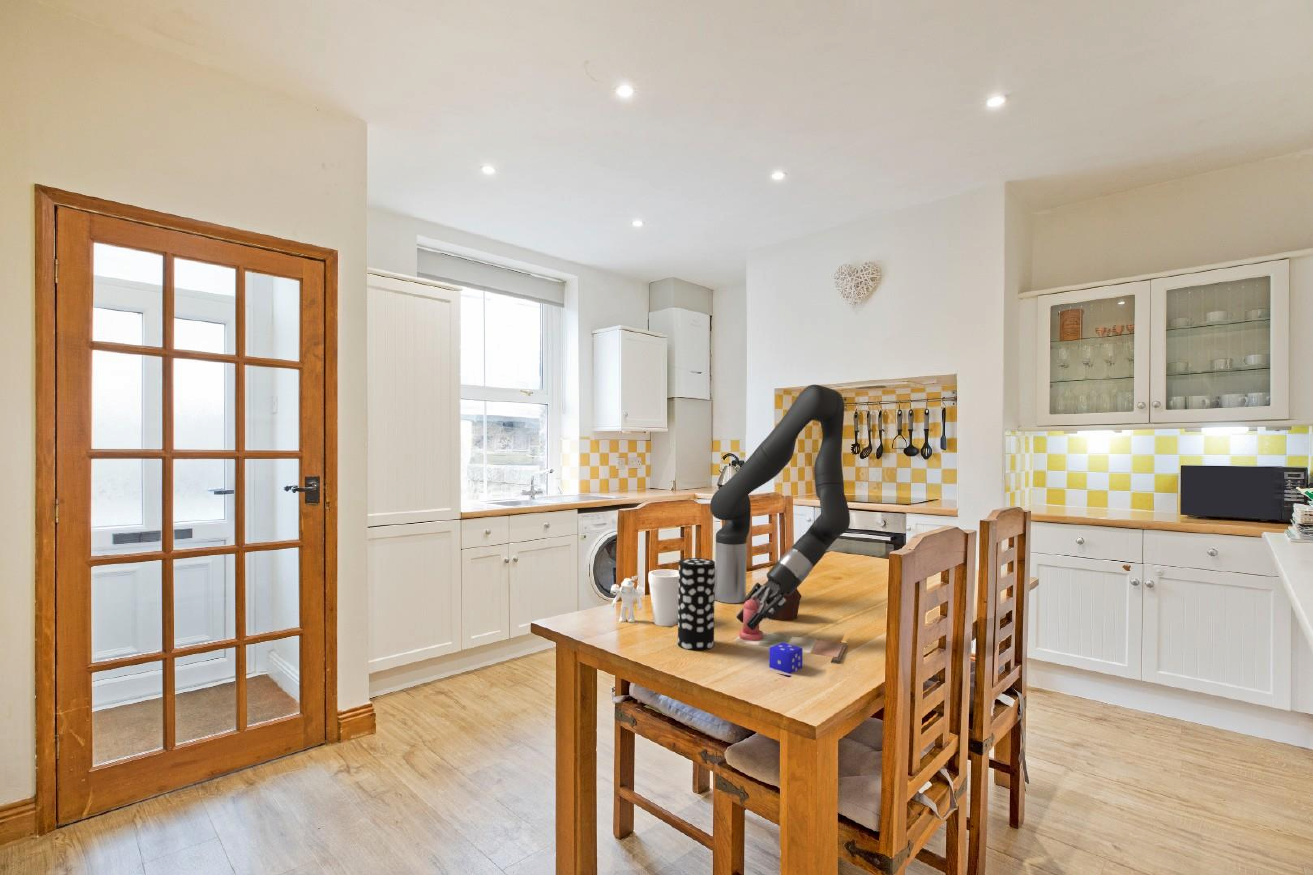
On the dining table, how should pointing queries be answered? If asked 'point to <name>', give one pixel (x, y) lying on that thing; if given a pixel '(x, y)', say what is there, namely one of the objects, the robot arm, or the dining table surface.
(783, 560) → the robot arm
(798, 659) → the die
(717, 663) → the dining table surface
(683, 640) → the white-spotted black cylinder
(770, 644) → the game track
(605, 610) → the dining table surface
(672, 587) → the foam cup
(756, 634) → the pawn
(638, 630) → the dining table surface
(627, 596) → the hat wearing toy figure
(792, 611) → the muffin
